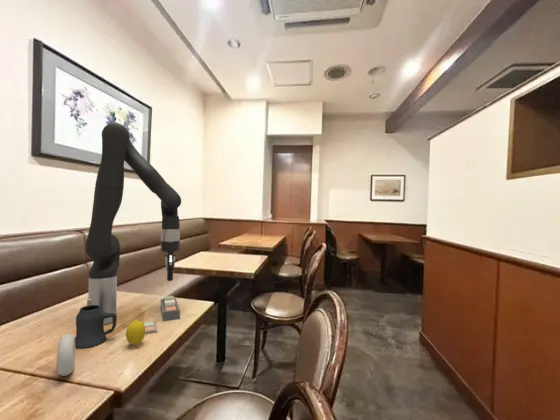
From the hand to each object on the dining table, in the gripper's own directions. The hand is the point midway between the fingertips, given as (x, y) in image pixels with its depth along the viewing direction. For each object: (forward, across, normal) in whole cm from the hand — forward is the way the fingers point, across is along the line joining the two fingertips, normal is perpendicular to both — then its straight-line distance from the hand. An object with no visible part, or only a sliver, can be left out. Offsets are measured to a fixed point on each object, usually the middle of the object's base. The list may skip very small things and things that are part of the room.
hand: (169, 280), depth 121 cm
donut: (+13, +38, -27) cm, 49 cm away
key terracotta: (+12, +7, 0) cm, 14 cm away
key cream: (+11, +2, 0) cm, 11 cm away
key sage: (+11, -3, 0) cm, 11 cm away
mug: (+13, +20, -23) cm, 34 cm away
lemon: (+13, +28, -11) cm, 33 cm away
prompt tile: (+13, +16, -8) cm, 22 cm away
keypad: (+13, +2, 0) cm, 13 cm away
